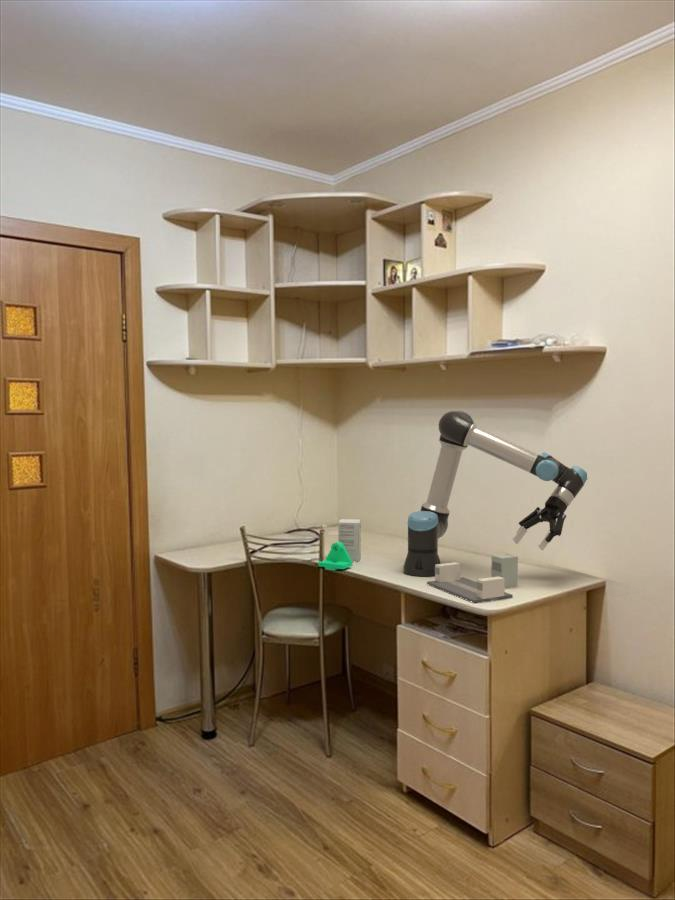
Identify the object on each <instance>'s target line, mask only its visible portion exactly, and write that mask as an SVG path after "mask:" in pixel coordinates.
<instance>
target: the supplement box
mask: <svg viewBox="0 0 675 900" xmlns="http://www.w3.org/2000/svg"><path fill="white" fill-rule="evenodd" d="M337 525H338V527H337V529H338V532H337V533H338V538H337V539H338V540H337V542H342V543H343V545H344V547H345V549H346V551H347V552H348V554H349V556H350V558H351V560H352V561H360V562H361V555H362V554H361V553H362V552H361V551H362V550H361V549H362V548H361V546H362V543H361V542H362V539H361V538H362V537H361V534H362V533H361V532H362V520H361V519H359V518H358V519H357V518H356V519H353V518H344V519H343V518H341V519H339V521H338V524H337Z"/></svg>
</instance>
